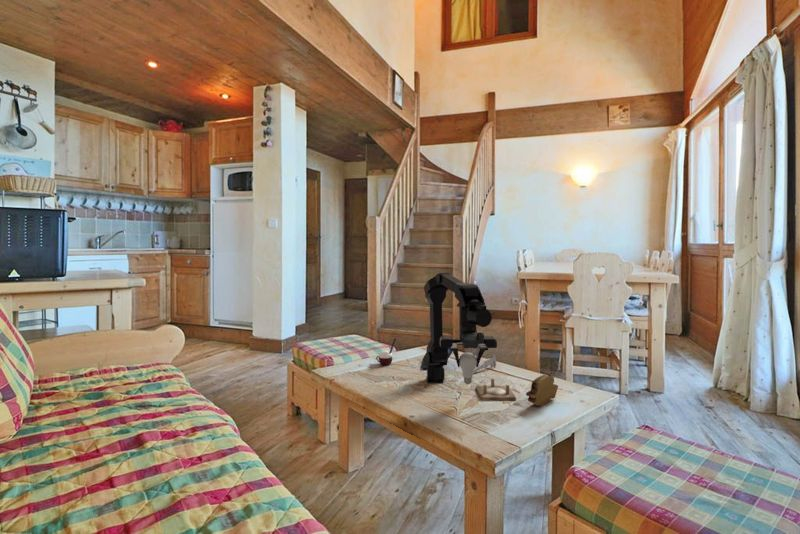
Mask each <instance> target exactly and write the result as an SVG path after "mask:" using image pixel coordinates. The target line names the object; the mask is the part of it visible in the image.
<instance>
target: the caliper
mask: <svg viewBox="0 0 800 534" xmlns="http://www.w3.org/2000/svg"><path fill="white" fill-rule="evenodd" d="M496 357H497V356H496V355H495V353H492V354H490V357H489V358H487V359H485V360H484V361H483V362H481V364H480V363H479V365H478V367H475V369H474V371H473V374H474V375H475V373H477V372H478V371H480V370H482V369H483V368H488V367H489V366H490V368H491V367H494V366H496V367H497V358H496ZM494 368H495V367H494Z"/></svg>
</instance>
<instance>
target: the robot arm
mask: <svg viewBox="0 0 800 534" xmlns="http://www.w3.org/2000/svg"><path fill="white" fill-rule="evenodd" d="M423 290H424V291H423V292H424V295H425V299H426V301H427V302H428V304H429V326H430V327H429V331H430V340H429V342H428V344H427V346H426V352H425V354H424V356H423V358H422V364H423V365H424V366H426V367H427V370H426V383H440V384H441V383H444V382H445V381H444V380H445V377H446V376H445V374H446V373H445V367H444V366H447V365H448V361H449V358H448V356H449V355H448V348H449V350H452V354H454V355H453V356H454V358H455V361H456V365H457V368H460V364H459V358H460V355H459V348H458V346H459V345H460V346H461V345H462V347H463V349H475V350H476V355H475V357H476V359H477V365H476V367H478V366H479V365H480V362H481V359H482V356H483V355H484V353H485V351H489V349H496V348H498V341H497V339H496V338H495V337H494V336H492V335H488V336H487V335H485V334H484V332H477V326H478V327H481V328H486V327H488V326H489V325H490V324H491V322H492V320H493V318H492V316H493V315H492V314H491V312H490V310H488V309H487V305H486V302H485V298H484V297H483V294H482V292H481V290H480V288H479V286H478V285H477V284H475V283H470V282H463V281H462V280H460V279H459V278H457V277H456V276H453V275H452V274H451V273H449V272H438V273H436V275H435V276H433V277H432V278H430V279H428V280H427V281H426V283H425V284H424V287H423ZM448 291H451V292H452V293H453V294H454V297H455V298H456V300H457V301H458V303H457V304H456V307H458V308H459V310H458V311H459V312H458V315H459V317H458V318H459V319H458V323H459V326H458V327H459V334H458V335H459V337H458V338H452V335H451V336H450V335H449V336H447V335H446V336H444V331H443V330H444V328H443V324H444V323H443V303H444V301H445V299H446V298H447V292H448ZM443 365H444V366H443Z"/></svg>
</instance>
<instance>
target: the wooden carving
mask: <svg viewBox="0 0 800 534" xmlns="http://www.w3.org/2000/svg"><path fill="white" fill-rule="evenodd" d="M530 386H531V387H530V391H527V392H525V393H526V394H525V395H526V396H527V397H528V398H527V402H530V403H532V404H534V405H535V406H537V407H541V406H545V405H546V404H547V403H548V402H549V401H550V400H552V399H555V398H556V396H557V395H556V394H557V392H558V389H559V386H558V384H555V376H554V375H551V374H542V375H540V376H538V377H536V378H535V379H534V380H533V381H532V382H531V385H530Z"/></svg>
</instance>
